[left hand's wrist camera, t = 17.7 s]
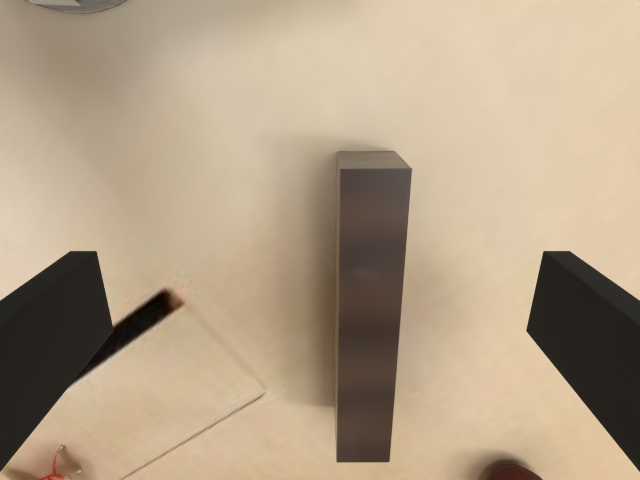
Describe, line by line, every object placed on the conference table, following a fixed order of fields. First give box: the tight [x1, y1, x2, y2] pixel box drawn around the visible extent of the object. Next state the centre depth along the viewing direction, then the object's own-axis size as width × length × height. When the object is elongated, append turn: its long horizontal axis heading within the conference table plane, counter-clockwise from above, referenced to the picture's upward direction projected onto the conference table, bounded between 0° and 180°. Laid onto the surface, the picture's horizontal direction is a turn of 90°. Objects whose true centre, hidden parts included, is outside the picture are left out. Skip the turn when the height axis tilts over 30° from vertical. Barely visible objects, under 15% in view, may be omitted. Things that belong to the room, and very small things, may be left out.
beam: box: [334, 151, 412, 462], centre depth 37 cm, size 28×5×7 cm, turn 0°
